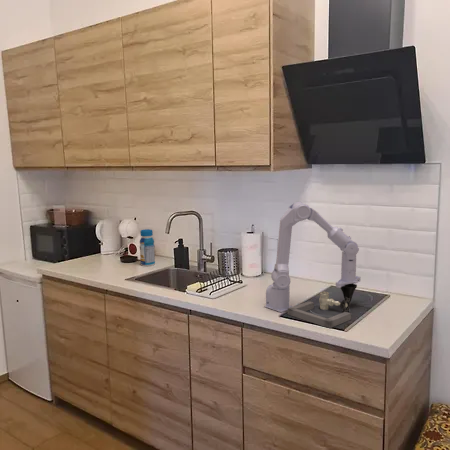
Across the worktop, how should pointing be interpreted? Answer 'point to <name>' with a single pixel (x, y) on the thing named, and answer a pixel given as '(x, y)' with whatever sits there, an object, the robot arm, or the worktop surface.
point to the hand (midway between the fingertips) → (347, 301)
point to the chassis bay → (301, 313)
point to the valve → (333, 302)
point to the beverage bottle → (147, 248)
